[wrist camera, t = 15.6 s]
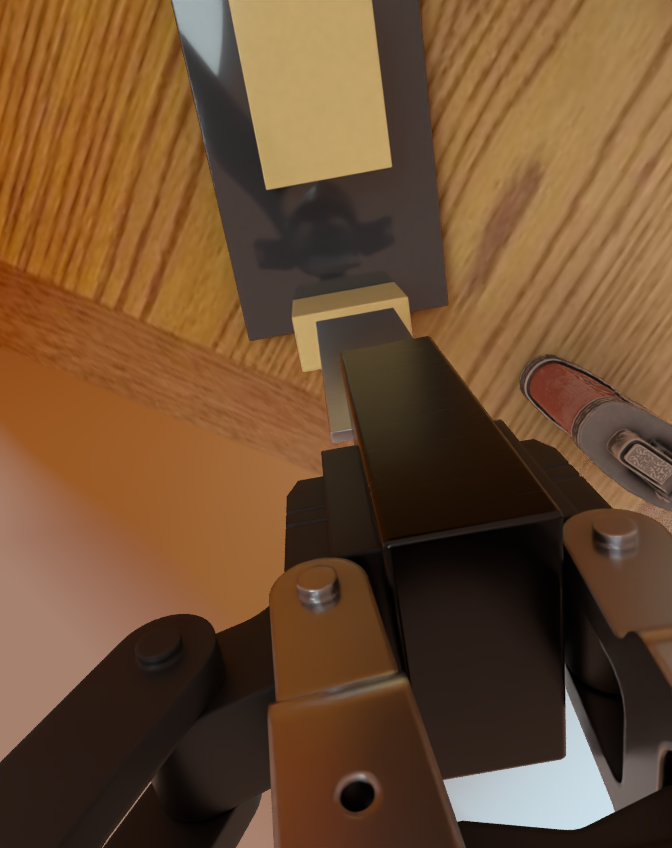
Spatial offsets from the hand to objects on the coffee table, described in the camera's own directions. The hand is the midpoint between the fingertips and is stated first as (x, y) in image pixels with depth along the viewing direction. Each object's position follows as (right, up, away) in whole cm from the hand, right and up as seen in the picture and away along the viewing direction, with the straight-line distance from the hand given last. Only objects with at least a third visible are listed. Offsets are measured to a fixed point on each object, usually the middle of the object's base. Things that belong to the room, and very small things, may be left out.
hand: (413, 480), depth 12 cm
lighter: (+12, +2, +22) cm, 25 cm away
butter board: (-2, +14, +16) cm, 21 cm away
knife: (-1, +5, +11) cm, 12 cm away
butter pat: (-1, +6, +18) cm, 19 cm away
